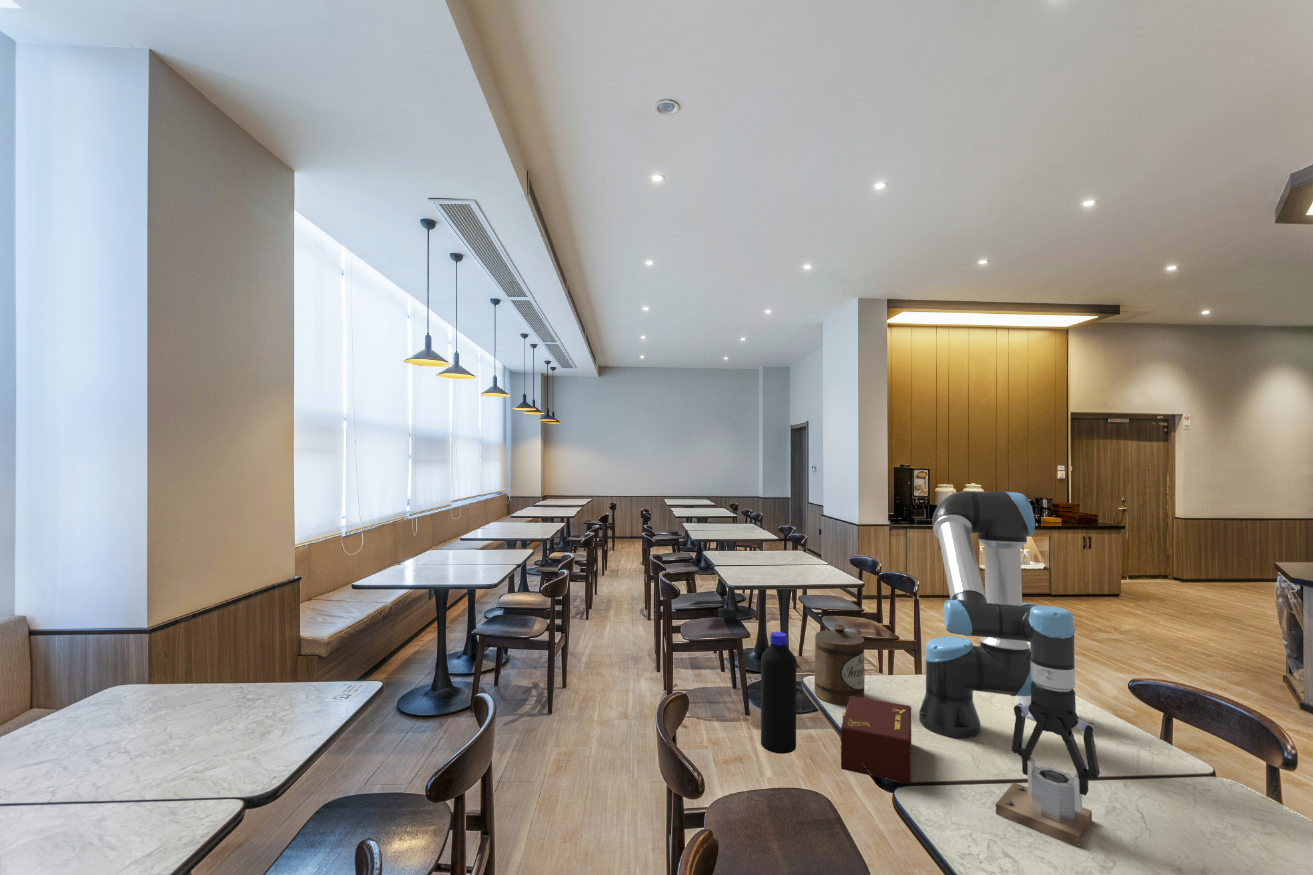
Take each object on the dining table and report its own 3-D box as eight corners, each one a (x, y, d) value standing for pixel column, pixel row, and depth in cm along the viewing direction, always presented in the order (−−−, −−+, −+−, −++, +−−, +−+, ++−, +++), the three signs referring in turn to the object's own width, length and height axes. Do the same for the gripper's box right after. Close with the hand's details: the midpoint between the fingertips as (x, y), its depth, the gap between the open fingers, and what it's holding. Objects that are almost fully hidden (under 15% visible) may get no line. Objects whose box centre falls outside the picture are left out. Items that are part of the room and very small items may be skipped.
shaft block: (995, 813, 119) (995, 768, 119) (1013, 791, 127) (1013, 749, 128) (1078, 846, 109) (1077, 798, 109) (1091, 820, 117) (1090, 775, 117)
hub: (1029, 810, 117) (1028, 775, 117) (1038, 797, 122) (1038, 763, 122) (1072, 827, 111) (1071, 790, 112) (1080, 812, 116) (1079, 776, 117)
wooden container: (857, 709, 169) (857, 633, 170) (808, 698, 177) (808, 625, 178) (869, 693, 181) (869, 622, 182) (822, 682, 189) (822, 615, 190)
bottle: (775, 757, 141) (776, 641, 142) (753, 741, 149) (754, 631, 150) (803, 749, 145) (803, 636, 146) (780, 734, 153) (780, 627, 154)
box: (844, 731, 155) (844, 693, 156) (911, 744, 149) (911, 704, 149) (834, 768, 136) (834, 725, 137) (910, 785, 130) (910, 739, 130)
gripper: (991, 675, 123) (993, 786, 121) (1111, 705, 108) (1113, 831, 107) (1003, 667, 128) (1004, 773, 127) (1118, 694, 113) (1121, 815, 112)
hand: (1054, 799), depth 117 cm, fingers closed on hub, 7 cm apart
